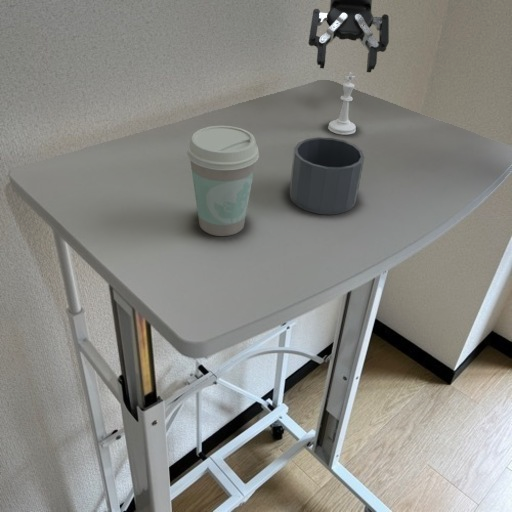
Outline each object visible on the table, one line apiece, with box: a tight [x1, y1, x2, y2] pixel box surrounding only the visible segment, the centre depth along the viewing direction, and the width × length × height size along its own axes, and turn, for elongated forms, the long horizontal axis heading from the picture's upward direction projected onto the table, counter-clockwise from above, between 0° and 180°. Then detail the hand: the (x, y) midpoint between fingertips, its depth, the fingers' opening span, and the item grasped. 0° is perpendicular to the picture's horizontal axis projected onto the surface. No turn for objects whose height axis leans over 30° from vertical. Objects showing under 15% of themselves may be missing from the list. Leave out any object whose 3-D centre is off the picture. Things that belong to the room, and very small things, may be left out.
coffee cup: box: [186, 125, 260, 237], centre depth 68 cm, size 8×8×12 cm
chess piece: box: [327, 72, 357, 136], centre depth 95 cm, size 5×5×10 cm
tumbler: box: [289, 136, 365, 216], centre depth 76 cm, size 9×9×7 cm
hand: (346, 68), depth 99 cm, fingers open, 8 cm apart
